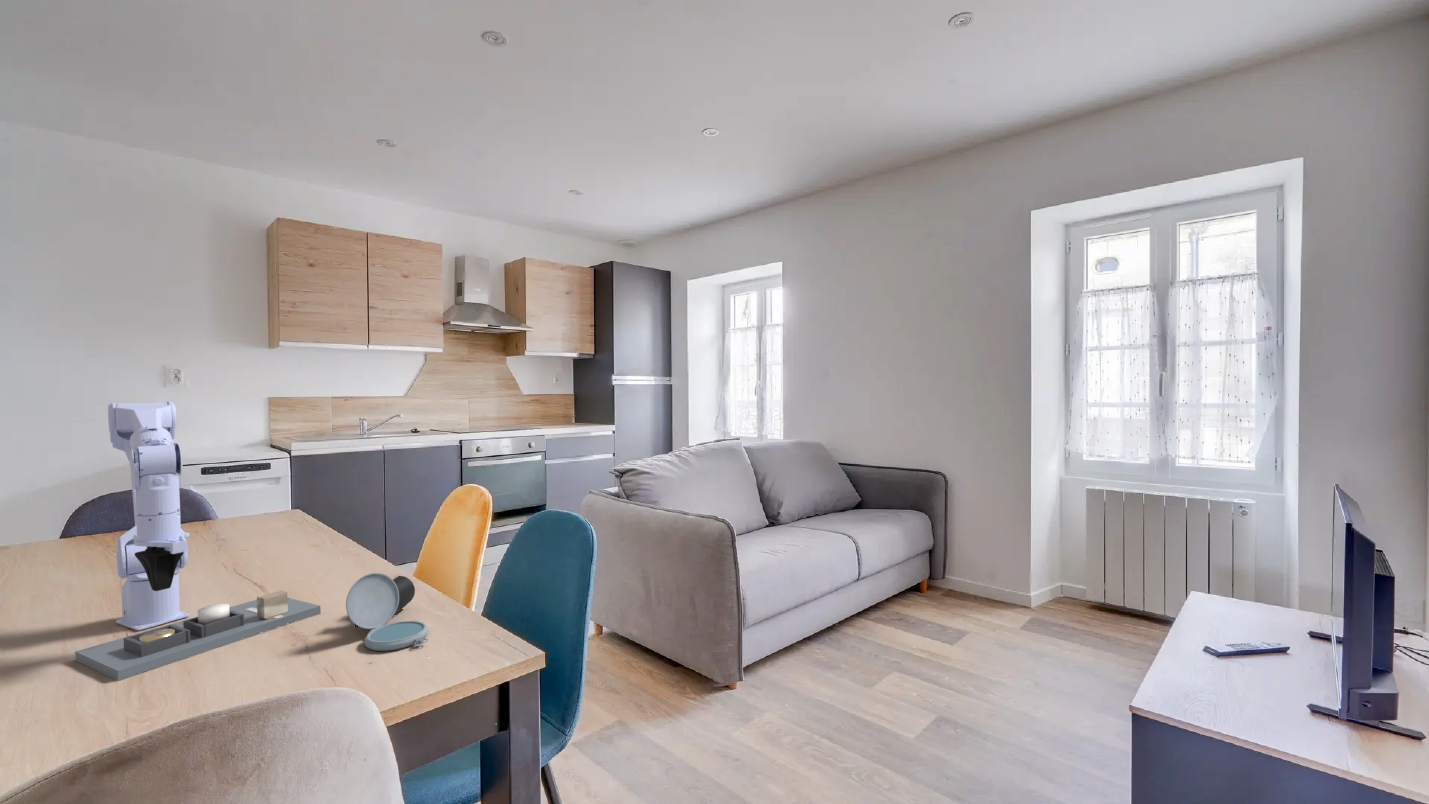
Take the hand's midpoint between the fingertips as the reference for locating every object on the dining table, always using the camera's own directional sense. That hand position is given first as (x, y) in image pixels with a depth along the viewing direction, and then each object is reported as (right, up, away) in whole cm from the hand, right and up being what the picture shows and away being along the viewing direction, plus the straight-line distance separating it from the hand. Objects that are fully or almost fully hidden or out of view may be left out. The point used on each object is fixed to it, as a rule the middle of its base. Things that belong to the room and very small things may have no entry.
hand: (161, 589), depth 106 cm
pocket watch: (+42, -9, -1) cm, 43 cm away
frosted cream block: (+14, -7, +8) cm, 18 cm away
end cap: (+34, -9, +10) cm, 37 cm away
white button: (+8, -6, +2) cm, 10 cm away
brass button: (+4, -8, -5) cm, 10 cm away
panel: (+6, -9, +3) cm, 11 cm away
